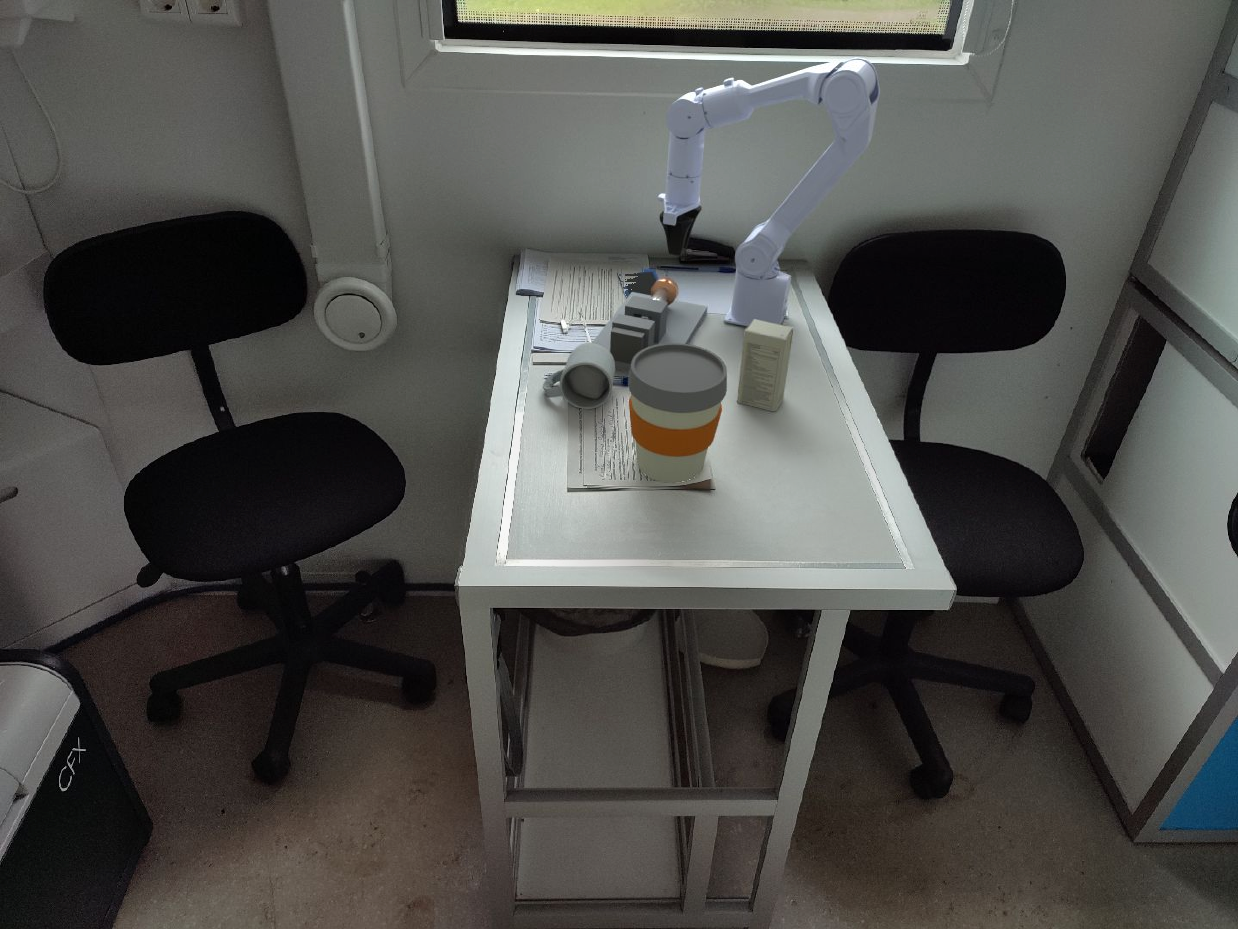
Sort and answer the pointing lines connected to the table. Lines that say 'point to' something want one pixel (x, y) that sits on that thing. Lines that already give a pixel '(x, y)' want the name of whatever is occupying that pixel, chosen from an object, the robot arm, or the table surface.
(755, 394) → the skincare box
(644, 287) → the cell phone
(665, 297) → the copper and silver rod
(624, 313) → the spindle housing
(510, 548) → the table surface
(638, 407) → the reusable coffee cup
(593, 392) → the ceramic mug
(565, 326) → the picture light
